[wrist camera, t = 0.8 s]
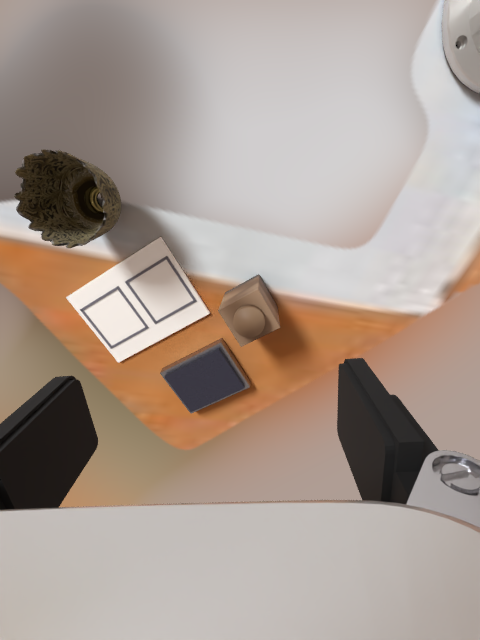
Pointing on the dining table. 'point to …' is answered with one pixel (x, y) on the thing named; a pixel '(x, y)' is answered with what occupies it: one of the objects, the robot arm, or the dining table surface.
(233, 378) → the ink pad
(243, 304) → the stamp
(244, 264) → the dining table surface
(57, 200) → the carved brown lampshade
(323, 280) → the dining table surface
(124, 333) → the sheet
